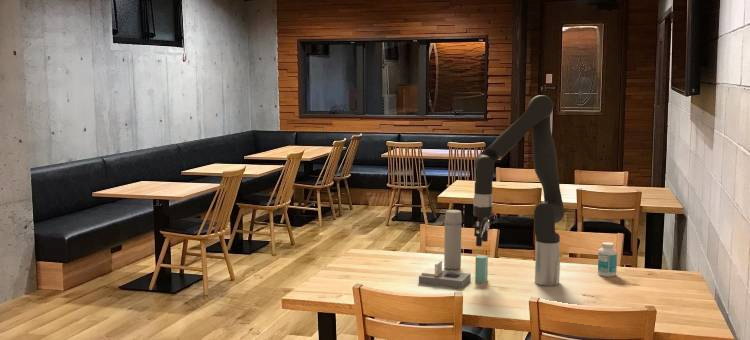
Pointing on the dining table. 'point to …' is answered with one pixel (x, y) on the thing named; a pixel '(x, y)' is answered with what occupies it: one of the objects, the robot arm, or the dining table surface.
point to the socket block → (446, 279)
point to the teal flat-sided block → (481, 268)
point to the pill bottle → (607, 260)
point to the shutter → (434, 270)
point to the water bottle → (452, 240)
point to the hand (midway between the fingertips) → (481, 243)
